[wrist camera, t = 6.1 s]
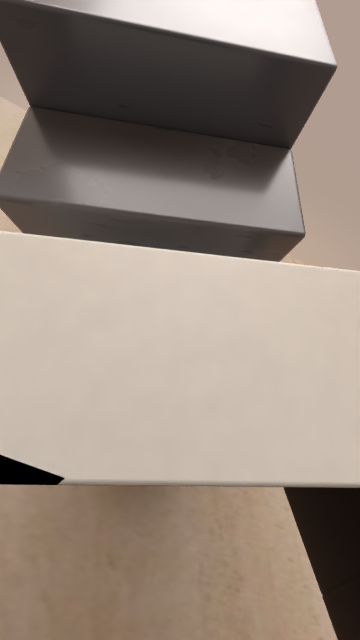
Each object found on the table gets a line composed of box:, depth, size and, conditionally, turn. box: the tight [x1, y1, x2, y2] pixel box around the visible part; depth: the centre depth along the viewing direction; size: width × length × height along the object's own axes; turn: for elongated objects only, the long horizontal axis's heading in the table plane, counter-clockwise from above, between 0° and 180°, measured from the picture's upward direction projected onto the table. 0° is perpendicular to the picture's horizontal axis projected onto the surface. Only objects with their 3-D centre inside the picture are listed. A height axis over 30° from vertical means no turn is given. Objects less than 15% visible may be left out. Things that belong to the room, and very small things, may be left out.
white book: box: [0, 231, 360, 488], centre depth 9 cm, size 3×7×14 cm, turn 87°
